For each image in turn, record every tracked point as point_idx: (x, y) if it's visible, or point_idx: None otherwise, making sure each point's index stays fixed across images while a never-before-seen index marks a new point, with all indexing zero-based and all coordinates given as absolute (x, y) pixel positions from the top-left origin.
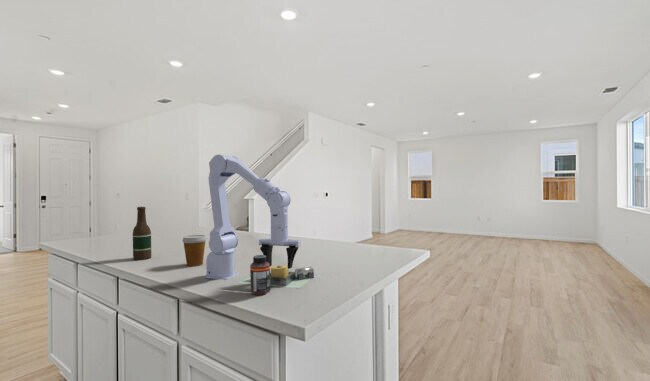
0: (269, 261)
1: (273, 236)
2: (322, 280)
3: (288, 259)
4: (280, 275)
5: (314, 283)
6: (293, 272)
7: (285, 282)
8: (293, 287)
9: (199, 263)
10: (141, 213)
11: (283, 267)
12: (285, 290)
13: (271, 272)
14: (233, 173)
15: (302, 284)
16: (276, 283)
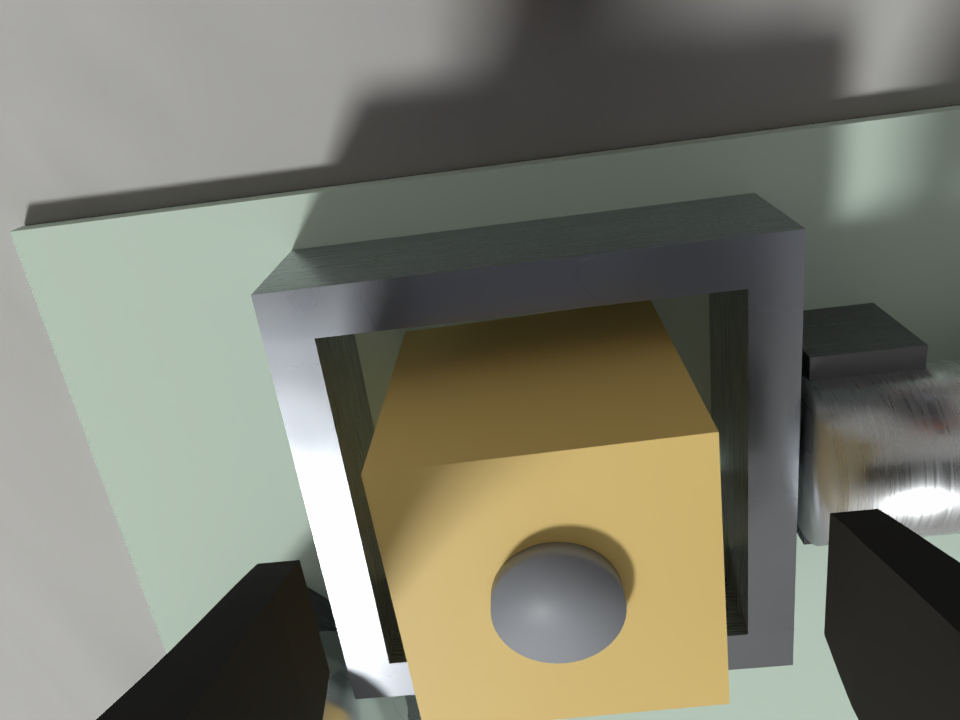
0: (893, 652)
1: None
2: (26, 699)
3: (156, 718)
4: (452, 388)
5: (31, 561)
6: (368, 664)
7: (290, 265)
8: (126, 225)
9: None
10: None
11: (442, 586)
12: (207, 86)
13: (680, 387)
14: None
15: (103, 420)
16: (483, 232)
